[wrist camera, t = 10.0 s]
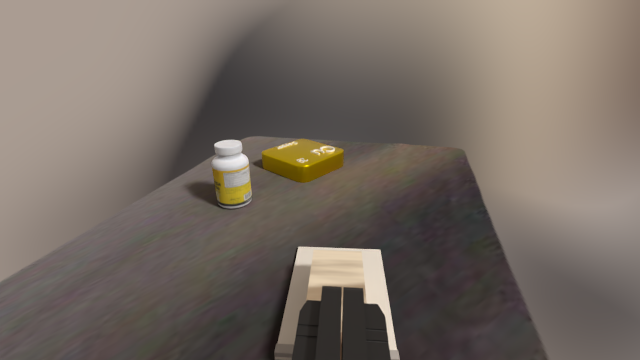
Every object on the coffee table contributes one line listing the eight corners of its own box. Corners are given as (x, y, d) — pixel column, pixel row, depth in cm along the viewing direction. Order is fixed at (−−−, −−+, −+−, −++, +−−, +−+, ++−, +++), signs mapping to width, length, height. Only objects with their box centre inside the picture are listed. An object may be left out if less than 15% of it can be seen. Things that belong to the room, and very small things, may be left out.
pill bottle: (224, 193, 65) (216, 137, 60) (256, 194, 65) (250, 138, 60) (212, 209, 59) (202, 149, 55) (247, 210, 59) (240, 149, 54)
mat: (398, 366, 31) (399, 359, 31) (274, 359, 32) (274, 352, 32) (380, 251, 48) (380, 246, 47) (298, 248, 48) (298, 243, 48)
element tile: (303, 152, 89) (302, 135, 87) (346, 166, 79) (347, 147, 77) (259, 168, 78) (257, 149, 76) (303, 186, 69) (303, 165, 67)
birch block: (370, 344, 27) (361, 251, 40) (300, 341, 28) (313, 249, 41) (368, 378, 29) (360, 278, 42) (301, 374, 29) (313, 276, 42)
